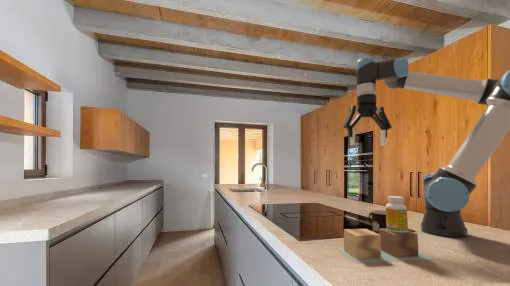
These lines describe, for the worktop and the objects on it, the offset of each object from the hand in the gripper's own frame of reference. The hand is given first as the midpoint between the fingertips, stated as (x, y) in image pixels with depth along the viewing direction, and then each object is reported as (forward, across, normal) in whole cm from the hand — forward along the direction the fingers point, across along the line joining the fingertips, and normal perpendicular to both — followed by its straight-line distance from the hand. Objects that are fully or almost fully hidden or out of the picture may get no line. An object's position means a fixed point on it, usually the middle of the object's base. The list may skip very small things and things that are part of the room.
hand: (368, 145), depth 108 cm
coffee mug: (+35, +3, +13) cm, 37 cm away
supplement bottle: (+27, +10, +30) cm, 42 cm away
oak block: (+33, +21, +30) cm, 49 cm away
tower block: (+33, +10, +30) cm, 46 cm away
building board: (+35, +15, +30) cm, 48 cm away
